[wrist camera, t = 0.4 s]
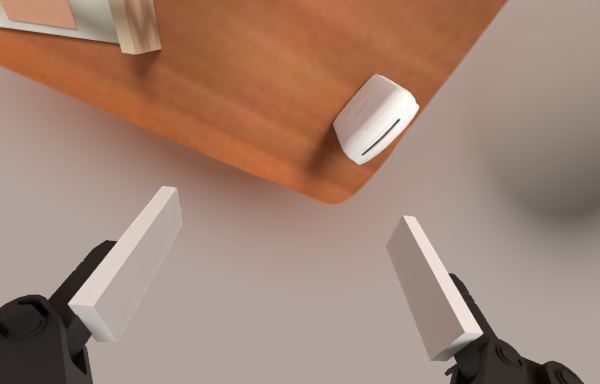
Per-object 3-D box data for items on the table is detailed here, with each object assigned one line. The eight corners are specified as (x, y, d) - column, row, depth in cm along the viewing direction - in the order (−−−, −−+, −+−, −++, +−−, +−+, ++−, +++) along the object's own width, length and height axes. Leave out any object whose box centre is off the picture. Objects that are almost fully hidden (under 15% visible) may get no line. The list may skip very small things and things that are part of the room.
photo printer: (375, 67, 34) (408, 86, 24) (395, 86, 36) (433, 112, 26) (328, 123, 39) (338, 159, 29) (347, 138, 40) (363, 177, 30)
